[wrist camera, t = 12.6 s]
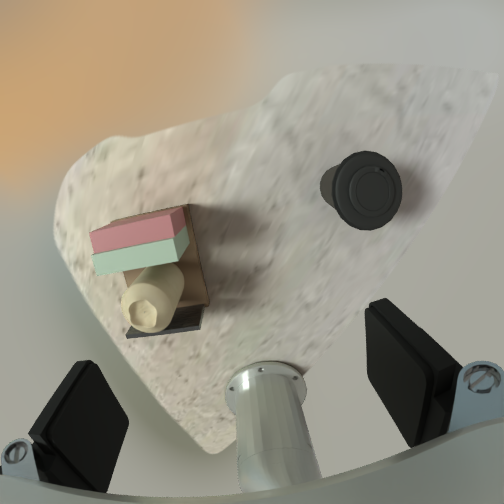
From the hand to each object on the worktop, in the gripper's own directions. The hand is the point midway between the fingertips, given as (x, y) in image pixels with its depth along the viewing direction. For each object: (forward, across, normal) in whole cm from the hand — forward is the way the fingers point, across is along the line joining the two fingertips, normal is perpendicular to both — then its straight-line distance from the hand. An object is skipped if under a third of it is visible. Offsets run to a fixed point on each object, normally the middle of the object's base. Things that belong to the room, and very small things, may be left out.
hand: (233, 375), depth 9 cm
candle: (+28, +10, +4) cm, 30 cm away
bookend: (+27, +10, +9) cm, 31 cm away
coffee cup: (+29, -14, -2) cm, 33 cm away
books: (+28, +10, -2) cm, 29 cm away
